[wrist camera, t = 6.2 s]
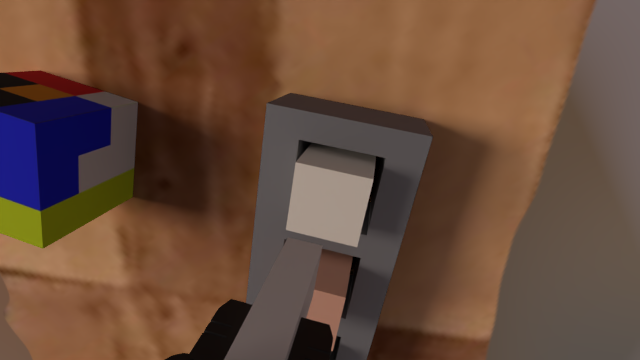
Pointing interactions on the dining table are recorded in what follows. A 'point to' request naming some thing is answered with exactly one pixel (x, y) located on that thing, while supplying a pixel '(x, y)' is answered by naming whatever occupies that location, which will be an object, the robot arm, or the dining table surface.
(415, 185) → the console
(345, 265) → the key terracotta
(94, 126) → the puzzle toy
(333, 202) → the key ivory
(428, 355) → the dining table surface
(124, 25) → the dining table surface
